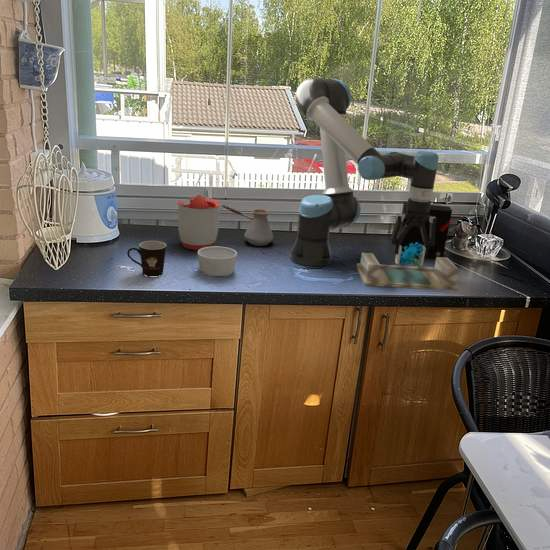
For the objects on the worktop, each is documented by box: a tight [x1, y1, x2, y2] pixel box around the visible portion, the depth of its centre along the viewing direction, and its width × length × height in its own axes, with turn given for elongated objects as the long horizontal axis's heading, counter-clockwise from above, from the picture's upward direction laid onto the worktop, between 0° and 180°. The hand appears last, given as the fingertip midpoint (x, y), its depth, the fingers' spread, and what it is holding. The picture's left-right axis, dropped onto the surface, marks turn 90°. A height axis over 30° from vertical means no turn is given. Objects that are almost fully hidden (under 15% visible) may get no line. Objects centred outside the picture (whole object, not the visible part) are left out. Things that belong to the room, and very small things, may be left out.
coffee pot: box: [219, 204, 274, 247], centre depth 222 cm, size 21×12×15 cm, turn 99°
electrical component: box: [397, 201, 453, 260], centre depth 223 cm, size 18×10×20 cm, turn 84°
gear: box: [399, 242, 423, 269], centre depth 196 cm, size 11×6×10 cm
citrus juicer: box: [177, 194, 221, 251], centre depth 213 cm, size 16×17×20 cm
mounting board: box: [355, 252, 460, 291], centre depth 198 cm, size 32×16×7 cm, turn 93°
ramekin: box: [197, 245, 238, 277], centre depth 192 cm, size 13×13×7 cm
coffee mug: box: [127, 240, 167, 276], centre depth 185 cm, size 12×9×10 cm
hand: (408, 263), depth 196 cm, fingers closed on gear, 8 cm apart
